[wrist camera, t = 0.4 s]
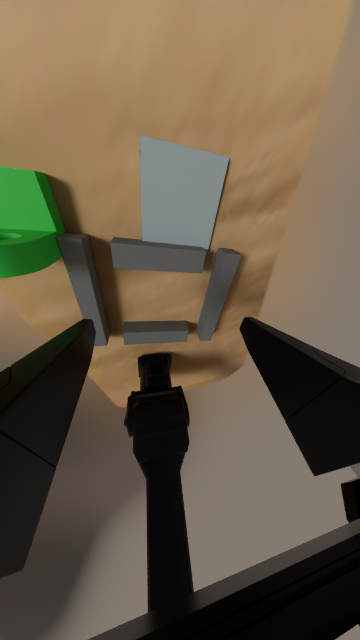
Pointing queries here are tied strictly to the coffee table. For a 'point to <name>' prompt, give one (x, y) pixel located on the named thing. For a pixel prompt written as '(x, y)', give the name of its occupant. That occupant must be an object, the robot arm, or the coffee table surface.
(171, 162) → the felt pad
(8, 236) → the mechanical part
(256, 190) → the coffee table surface
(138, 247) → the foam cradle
